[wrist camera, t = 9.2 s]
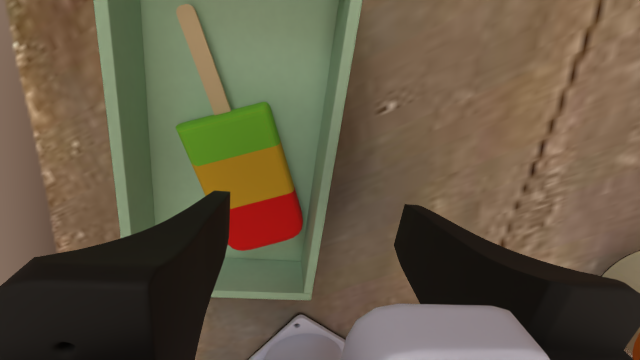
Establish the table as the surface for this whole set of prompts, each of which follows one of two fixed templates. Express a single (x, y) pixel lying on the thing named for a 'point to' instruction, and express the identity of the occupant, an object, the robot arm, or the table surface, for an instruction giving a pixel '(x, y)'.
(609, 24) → the table surface
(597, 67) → the table surface
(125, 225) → the tote
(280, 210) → the popsicle
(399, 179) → the table surface
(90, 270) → the robot arm
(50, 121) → the table surface
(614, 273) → the reusable coffee cup
